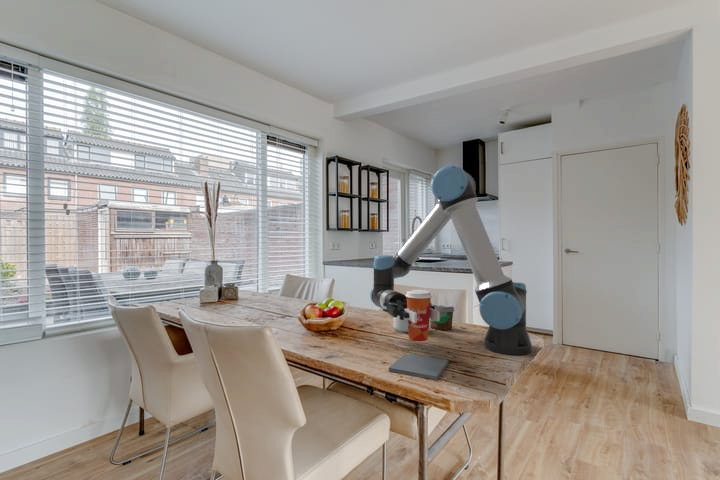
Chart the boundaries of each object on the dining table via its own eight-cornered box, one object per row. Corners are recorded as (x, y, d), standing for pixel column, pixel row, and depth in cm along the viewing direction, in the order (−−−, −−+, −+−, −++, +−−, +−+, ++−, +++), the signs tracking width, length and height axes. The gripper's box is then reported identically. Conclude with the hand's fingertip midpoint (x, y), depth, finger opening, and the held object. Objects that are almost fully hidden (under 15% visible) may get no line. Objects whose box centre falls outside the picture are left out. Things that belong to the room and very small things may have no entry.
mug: (410, 334, 140) (410, 306, 140) (389, 331, 145) (389, 304, 145) (420, 327, 151) (420, 301, 151) (401, 324, 155) (401, 299, 155)
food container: (421, 327, 150) (421, 304, 150) (430, 325, 154) (430, 302, 154) (445, 333, 141) (445, 308, 141) (454, 330, 145) (454, 306, 145)
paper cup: (400, 339, 104) (401, 292, 104) (412, 333, 110) (412, 288, 110) (425, 344, 100) (425, 294, 99) (435, 337, 106) (436, 291, 106)
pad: (448, 363, 108) (448, 360, 108) (436, 379, 96) (436, 376, 95) (404, 356, 114) (404, 353, 114) (388, 371, 102) (388, 367, 102)
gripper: (419, 311, 125) (456, 327, 103) (367, 315, 119) (395, 333, 97) (419, 290, 125) (457, 302, 103) (367, 292, 119) (395, 306, 97)
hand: (427, 317), depth 100 cm, fingers closed on paper cup, 6 cm apart
